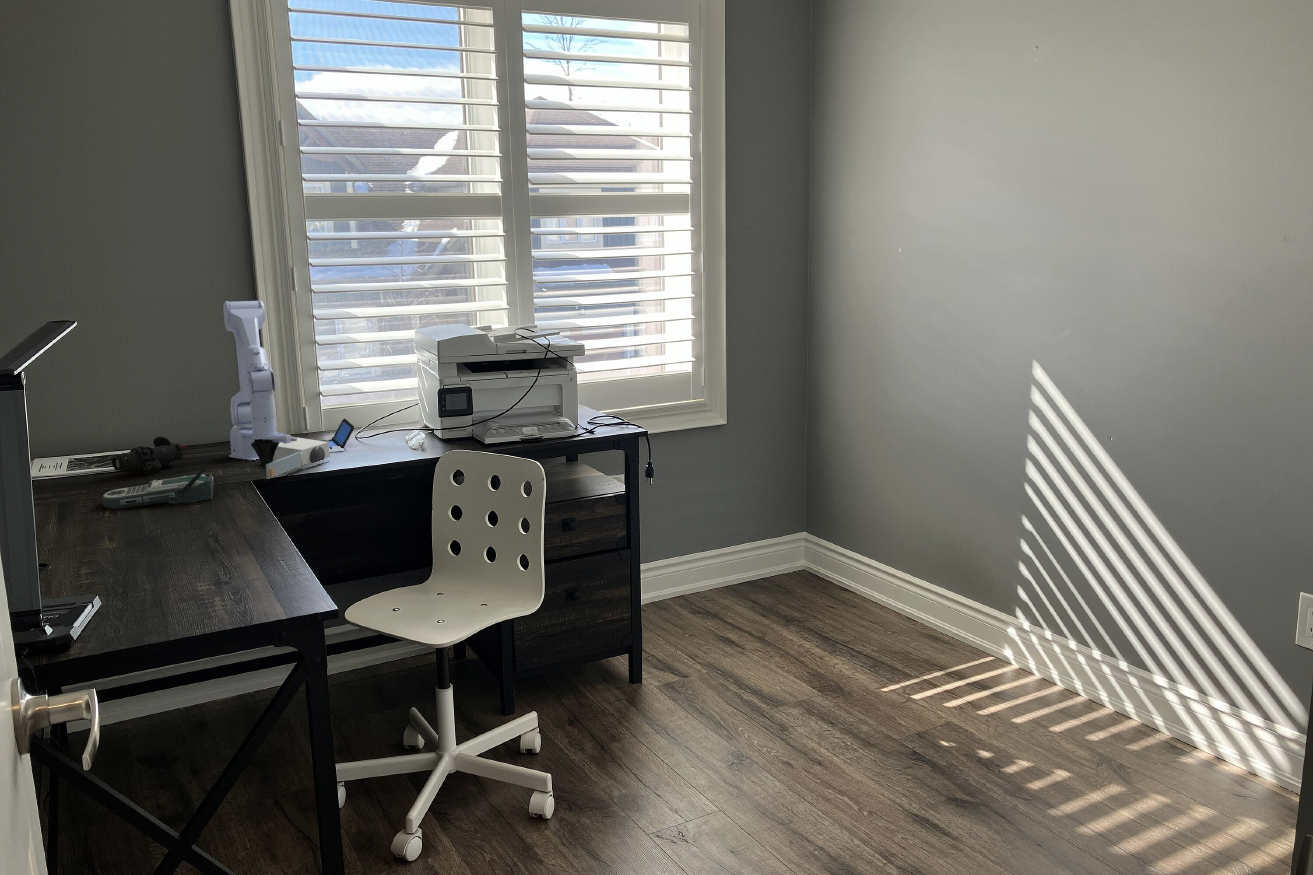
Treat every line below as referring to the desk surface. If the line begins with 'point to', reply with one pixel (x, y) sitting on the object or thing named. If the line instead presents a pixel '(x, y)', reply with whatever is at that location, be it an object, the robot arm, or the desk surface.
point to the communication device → (162, 492)
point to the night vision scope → (149, 457)
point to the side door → (284, 465)
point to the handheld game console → (341, 434)
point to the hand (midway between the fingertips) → (267, 467)
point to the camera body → (303, 450)
